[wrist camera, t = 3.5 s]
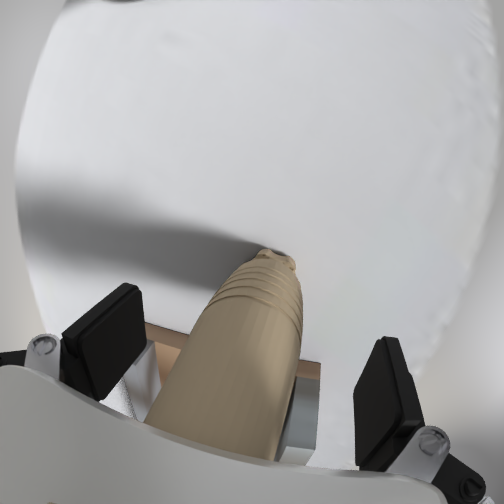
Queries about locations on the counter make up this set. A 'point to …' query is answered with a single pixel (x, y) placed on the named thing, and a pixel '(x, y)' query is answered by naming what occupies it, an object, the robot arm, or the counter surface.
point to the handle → (238, 363)
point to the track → (298, 412)
